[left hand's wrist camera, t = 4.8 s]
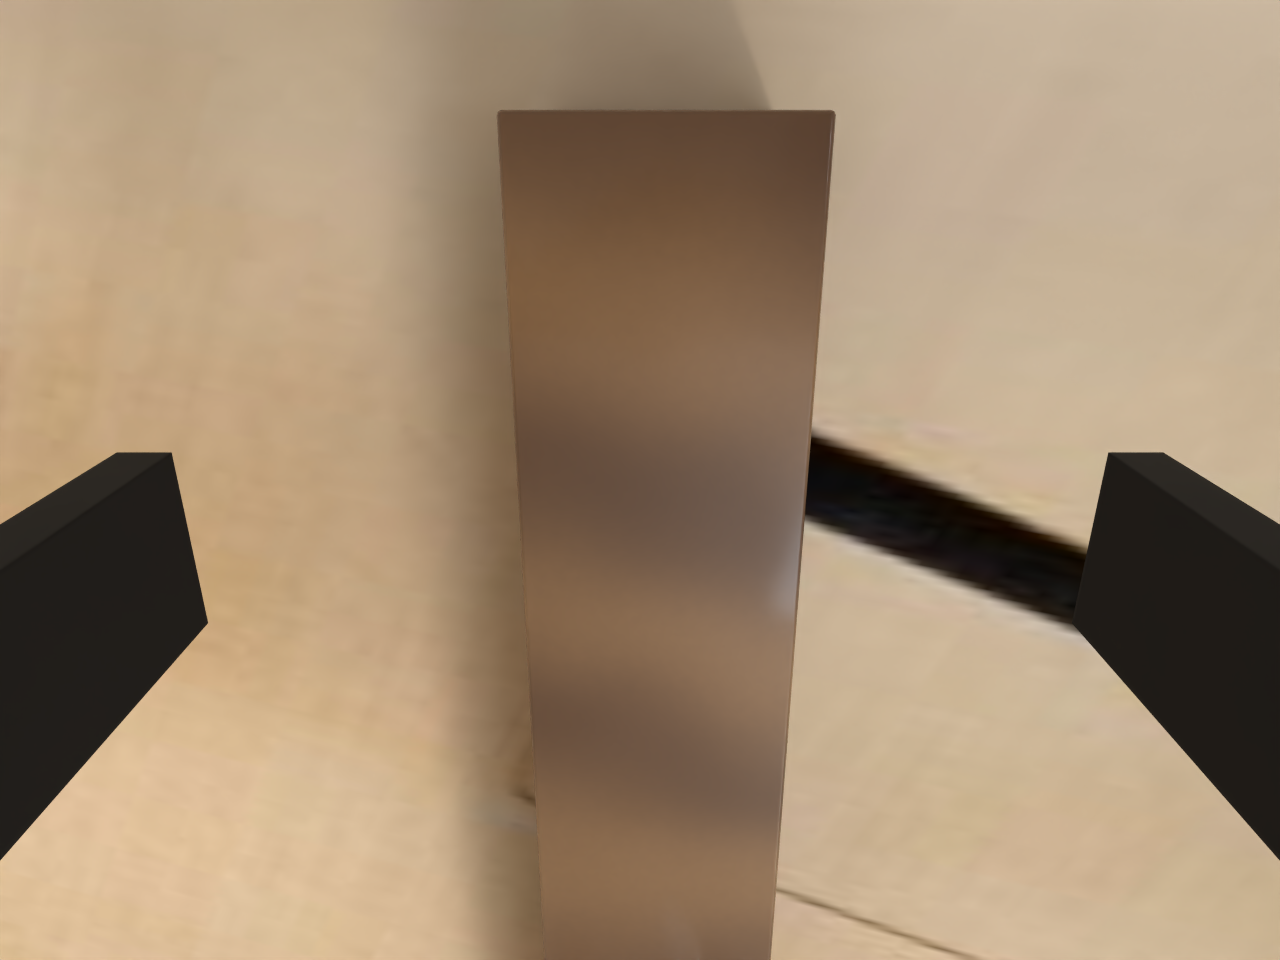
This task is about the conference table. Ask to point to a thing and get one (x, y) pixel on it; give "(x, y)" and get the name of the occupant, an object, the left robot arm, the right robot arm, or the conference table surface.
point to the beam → (662, 506)
